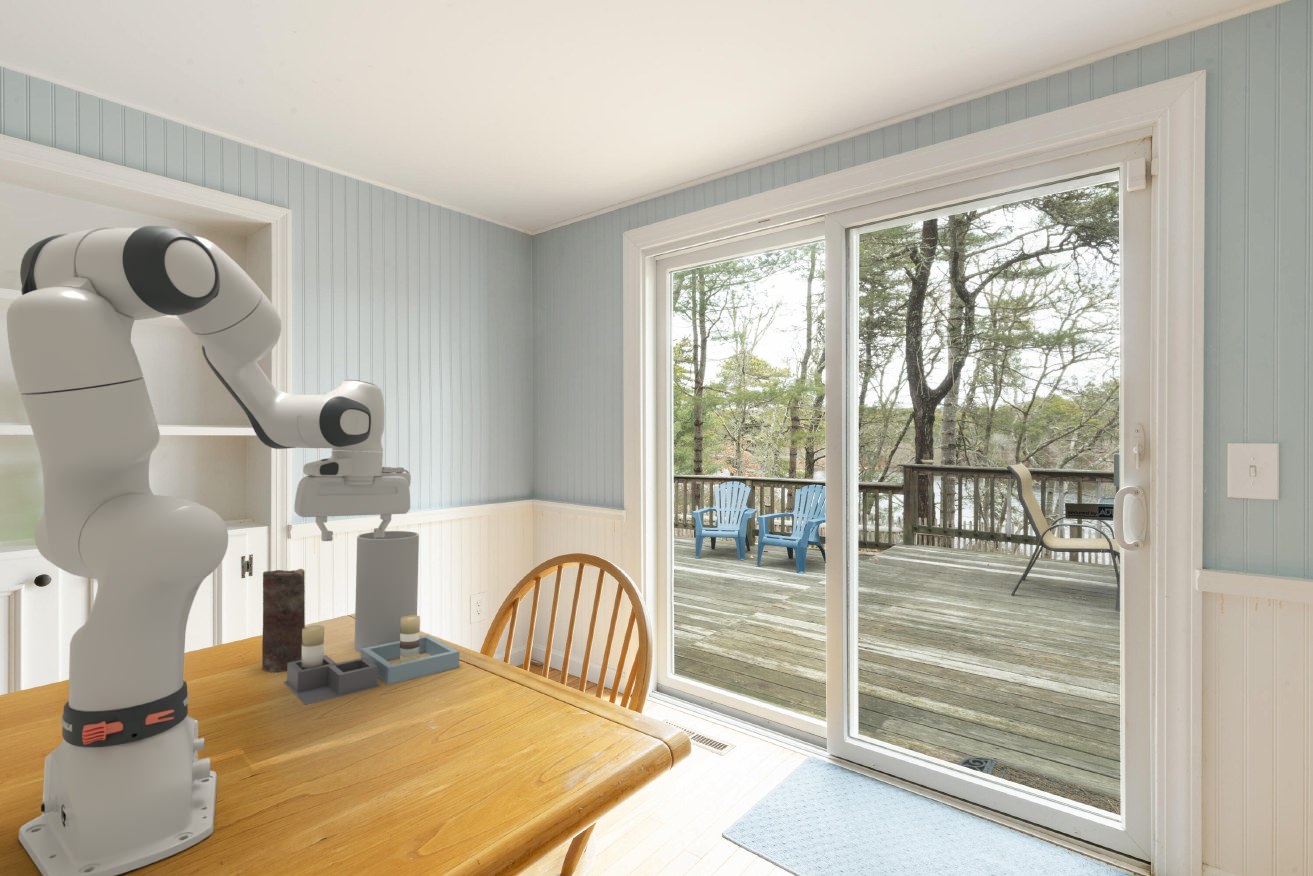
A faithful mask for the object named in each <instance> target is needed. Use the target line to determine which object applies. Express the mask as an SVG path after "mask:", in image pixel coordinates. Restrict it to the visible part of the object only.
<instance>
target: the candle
mask: <svg viewBox="0 0 1313 876" xmlns="http://www.w3.org/2000/svg"><path fill="white" fill-rule="evenodd" d="M305 574H306V573H305V569H303V568H298V569H297V570H284V569H276V570H268V571H264V572H263V573H262V642H261V643H262V645H261V646H262V647H261V649H262V653H261V654H262V656H261V657H262V659H261V661H262V664H261V665H262V670H263V671H264V672H266V673H284V672H285V673H287V663H289V662H294V661H299V660H301V658H302V629H303V628H305V627H306V625H305V624H306V623H305V622H306V617H305V616H306V615H305V613H306V612H305V610H306V607H305V599H306V598H305V597H306V596H305V594H306V590H305V588H306V587H305V583H306V582H305V578H306V577H305V576H306V575H305Z"/></svg>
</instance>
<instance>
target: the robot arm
mask: <svg viewBox="0 0 1313 876" xmlns="http://www.w3.org/2000/svg"><path fill="white" fill-rule="evenodd" d="M20 282H21V283H20V284H21V296H19V297H17V298H16V299H15V300H13V302H12V303H11V304H9V305H10V306H9V307H8V309H7V312H6V328H7V329H6V330H7V339H8V348H9V354H10V355H9V356H10V359H11V360H10V361H11V363H12V368H13V372H14V376H15V380H16V383H17V387H18V390H19V393H20V398H21V399H22V403H23V406H24V409H25V412H26V416H27V418H28V421H29V424H30V426H31V430H32V433H33V437H34V439H35V443H36V446H37V450H38V453H39V457H40V461H41V468H42V478H43V479H42V481H43V513H42V515H41V516H40V518H39V520H38V522H37V524H36V527H35V532H34V541H35V546H36V548H37V551H38V552H39V553H40V554H41V556H42V557H43V558H44V559H45V560H47V561H48V562H49V563H51V565H52V564H53V565H54V566H55V567H57V568H59V569H61V570H62V571H65V572H67V573H68V574H69V575H73V576H77V577H83V578H87V579H93V580H96V581H97V590H96V595H95V599H94V602H93V605H92V607H91V610H90V611H89V612H90V613H89V615H88V617H87V619H86V621H85V623H84V624H83V625H82V626H80V627H79V628H78V629H77V630H76V631H75V633H74V634H73V635H72V636H71V637H72V638H71V640H70V643H69V663H68V664H69V666H68V667H69V669H68V672H69V673H68V701H66V703H65V704H64V705H63V712H62V714H61V715H62V716H61V727H62V730H61V731H62V732H61V734H62V741H61V743H59V744H58V746H57V747H56V748H54V750H52V751H51V752H50V753H49V754H48V755H47V756H46V757H45V759H44V770H43V772H44V773H43V786H42V787H43V788H42V789H43V790H42V803H41V805H40V811H41V815H39V816H37V817H35V818H34V819H32V820H29V821H28V822H26V823H24V824H23V825H21V826H20V828H19V831H18V840H19V842H20V843H21V845H22V847H23V848H24V849H25V851H26V852H27V854H28V855H29V857H30V858H31V860H32V862H33V863H34V865H35V866H36V867H37V869H38V870H39V872H40V874H41V875H42V876H118V875H121V874H124V873H127V872H130V871H133V870H136V869H139V868H142V867H145V866H148V865H150V864H152V863H156V862H158V861H160V860H161V861H162V860H163V859H166V858H168V857H170V856H173V855H175V854H178V853H179V852H182V851H184V850H187V849H188V848H190V847H192V846H194V845H196V844H198V843H200V842H201V841H203V840H204V839H206V838H209V836H211V835H212V834H213V833H214V824H215V814H216V812H215V811H216V798H217V797H216V796H217V785H218V784H217V783H218V777H217V772H216V771H214V770H211V757H205V758H201V759H198V751H202V750H205V744H206V743H205V742H206V741H205V738H204V737H201V738H199V720H196V719H195V718H193V717H191V716H189V715H188V714H189V705H188V704H189V701H190V700H189V699H190V696H189V691H188V684H187V683H188V682H187V681H185V680H184V676H185V675H184V674H185V673H184V672H185V651H186V650H185V649H186V648H185V647H186V633H187V632H186V631H187V625H188V619H189V615H190V613H191V609H192V607H193V603H194V600H195V598H196V596H197V593H198V590H199V589H200V586H201V584H202V583H203V582H204V580H205V579H206V578H207V577H208V576H210V575H211V574H212V573H213V572H214V571H216V569H217V568H218V567H219V565H220V564H221V563H222V561H223V559H224V558H225V555H226V553H227V551H228V546H229V533H228V531H229V530H228V529H227V525H226V522H225V521H224V520H223V518H222V517H221V516H220V515H219V514H218V513H217V512H216V511H214V510H213V509H210V508H209V507H207V506H205V505H202V504H200V503H198V502H195V501H192V500H190V499H187V498H183V497H179V496H173V495H172V496H171V495H159V494H158V495H157V494H154V492H152V489H151V485H150V477H149V476H150V461H151V455H152V454H153V451H155V449H156V448H157V447H158V445H159V443H160V439H161V438H160V436H161V435H160V434H161V433H160V430H159V426H158V423H157V420H156V415H155V413H154V409H153V405H152V402H151V399H150V395H149V391H148V388H147V383H146V381H145V377H144V374H143V371H142V368H141V364H140V361H139V359H138V356H137V353H136V350H135V347H134V346H133V344H132V331H133V326H134V322H135V321H140V320H149V319H155V318H161V317H166V316H176V317H177V318H178V319H179V321H181V322H182V324H184V326H185V327H186V328H187V329H188V330H189V331H190V332H191V334H193V335H194V337H196V338H197V340H198V341H199V342H200V343H201V350H202V355H203V357H204V360H205V361H206V364H207V365H208V366H209V368H210V369H211V371H212V372H213V374H214V375H215V376H216V378H218V380H219V381H220V382H221V383H222V385H223V386H224V387H225V389H226V390H227V391H228V392H229V394H230V395H231V396H232V398H234V399H233V400H235V401H236V402H237V404H238V405H239V406H240V408H241V409H242V410H243V411H244V414H245V415H246V416H247V418H248V420H249V421H250V424H251V427H252V429H253V431H254V433H255V435H256V437H257V438H258V439H259V440H260V442H262V443H263V444H264V445H265V446H267V447H269V448H271V449H275V450H282V449H283V450H286V449H303V448H304V449H331V456H330V457H326V458H323V459H319V460H316V461H312V462H307V463H305V464H304V465H303V468H302V471H303V474H304V475H306V476H304V477H302V478H301V479H300V480H299V482H298V484H297V487H296V488H297V489H296V493H295V498H294V507H293V509H294V512H295V514H296V515H297V516H299V517H301V518H315V523H316V525H317V526H318V529H319V530H320V532H321V535H320V536H321V537H320V539H321V541H322V542H332V541H333V540H334V539H333V535H334V532H333V530H328V528H327V527H326V525H325V523H328V517H345V516H346V517H348V516H349V517H350V516H353V517H354V516H375V515H378V516H380V517H379V519H380V520H382V521H380V524H379V525H378V527H377V528H375V527H374V528H373V532H374V538H384V536H385V531H386V529H387V528H388V526H389V524H390V523H391V521H392V515H400V514H401V515H406V514H408V512H409V511H410V509H411V493H410V487H411V482H412V481H411V480H412V479H411V477H412V476H411V473H410V472H409V471H408V470H407V469H405V468H404V467H399V466H398V467H393V466H392V467H390V466H389V467H388V466H383V457H384V455H383V454H384V453H383V452H384V449H383V445H382V438H383V434H384V432H385V431H384V430H385V402H384V396H383V393H382V389H381V388H380V387H379V386H377V385H375V384H374V383H371V382H368V381H362V380H357V379H356V380H355V379H347V380H342V381H341V382H340V383H339V385H338V386H337V387H336V388H334V389H333V390H330V391H327V392H324V393H323V394H320V393H319V394H295V393H290V392H285V391H282V390H280V389H278V388H276V387H275V386H274V385H273V383H272V382H271V380H270V379H269V377H268V376H267V375H266V373H265V372H264V370H263V369H262V368H261V366H260V365H259V363H258V362H260V361H261V360H263V359H264V358H265V357H266V356H267V355H269V353H271V352H272V350H273V349H274V347H275V346H276V345H277V343H278V342H279V340H280V336H281V331H282V320H281V317H280V316H279V313H278V311H277V309H276V307H275V306H274V305H273V303H272V301H270V299H269V298H268V297H267V296H266V294H265V293H264V292H263V291H262V289H261V288H260V287H259V286H258V285H257V283H256V282H255V281H254V280H253V278H251V277H250V276H249V274H248V273H247V272H246V271H245V270H244V269H243V268H242V267H241V266H240V265H238V263H237V262H236V261H235V260H234V259H233V258H231V257H230V256H229V255H228V254H227V253H226V252H225V251H224V250H223V249H221V248H220V247H219V246H218V245H217V244H215V243H214V242H212V241H211V240H209V239H207V238H205V237H202V236H198V235H192V234H191V233H188V232H187V231H184V230H181V229H178V228H173V227H168V226H161V225H147V226H145V225H144V226H143V227H115V228H114V227H108V226H107V227H105V226H104V227H98V228H90V229H86V230H81V231H76V232H72V233H58V234H54V235H51V236H49V237H45V238H43V239H41V240H39V241H37V242H36V243H34V244H32V245H31V246H30V247H29V248H28V249H27V250H26V251H25V253H24V254H23V257H22V260H21V264H20Z"/></svg>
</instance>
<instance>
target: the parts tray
mask: <svg viewBox="0 0 1313 876" xmlns="http://www.w3.org/2000/svg"><path fill="white" fill-rule="evenodd" d="M423 653H426V654H427V655H429V656H424V657H419V659H415V660H410V661H406V662H402V663H400V662H398V663H391V662H389V661H393V660H397V659H400V641H397V642H392V643H387V644H382V645H377V646H372V647H367V648H362V649H361V653H360V658H364V657H365V658H366V659H367V660H369V661H370V662H372V663H373V664H374V665H376V666H377V667H378V674H377V679H380V680H381V681H382V682H383V683H385V684H386V685H387V686H389V685H394V684H397V683H402V682H405V681H409V680H413V679H417V678H422V677H426V676H429V675H434V674H438V673H442V672H446V671H451V670H454V669H459V668H460V651H459V650H457V649H456V648H454V647H452V646H450V645H448V644H446V643H445V642H443V641H440V640H439V639H437V638H435V637H433V636H431V635H429V634H427V635H423V636H420V646H419V655H420V654H423Z"/></svg>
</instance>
